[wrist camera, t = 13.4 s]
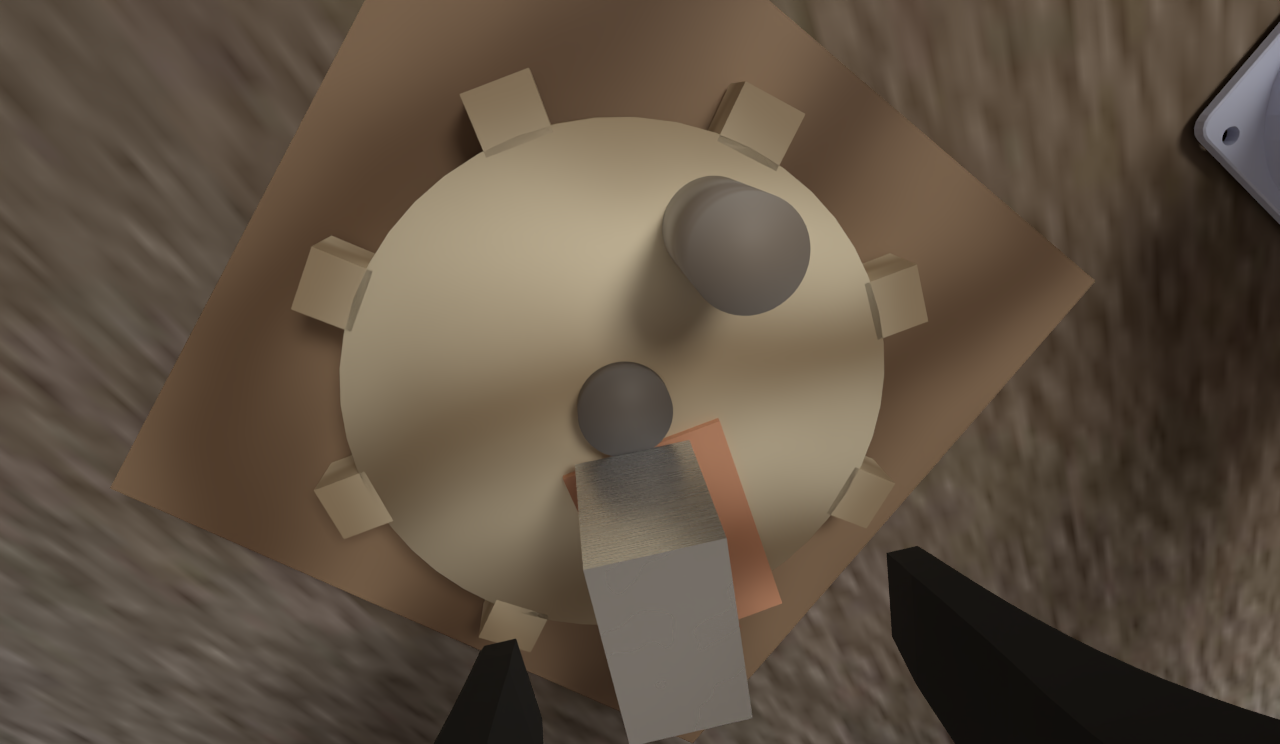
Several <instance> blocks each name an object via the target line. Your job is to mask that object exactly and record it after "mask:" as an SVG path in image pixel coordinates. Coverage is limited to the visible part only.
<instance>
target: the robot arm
mask: <svg viewBox="0 0 1280 744" xmlns="http://www.w3.org/2000/svg"><path fill="white" fill-rule="evenodd" d="M1225 130H1227V137H1226V138H1225V140H1224V141H1222V137H1223V134H1224V132H1225ZM1194 135H1195V137H1196V139H1197V140H1198V141H1199V142H1200V143H1201V144H1202V145H1203V147H1204V148H1205V149H1206V150H1207V151H1208V152H1209V153H1210V154H1211V155H1212V156H1213V157H1214V158H1215V159H1216V160H1217V161H1218V162H1219V163H1220V164H1221V165H1222V166H1223V167H1224V168H1225V169H1226V170H1227V171H1228V172H1229V173H1230V174H1231V175H1232V176H1233V177H1234V178H1235V179H1236V180H1237V181H1238V182H1239V183H1240V184H1241V185H1242V186H1243V187H1244V188H1245V189H1246V190H1247V191H1248V192H1249V194H1250V195H1251V196H1252V197H1253V198H1254V199H1255V200H1256V201H1257V202H1258V203H1259V204H1260V205H1261V206H1262V207H1263V208H1264V209H1265V210H1266V211H1267V212H1268V213H1269V214H1270V215H1271V216H1272V217H1273V218H1274V219H1275V220H1276V221H1277V222H1278V223H1279V224H1280V22H1279V23H1278V25H1277V26H1276V27H1275V28H1274V29H1273V30H1272V32H1271V33H1270V34H1269V35H1268V36H1267V37H1266V39H1265V40H1264V41H1263V42H1262V43H1261V44H1260V46H1259V47H1258V48H1257V49H1256V50H1255V51H1254V53H1253V54H1252V55H1251V56H1250V57H1249V58H1248V60H1247V61H1246V62H1245V63H1244V64H1243V65H1242V67H1241V68H1240V69H1239V70H1238V71H1237V72H1236V74H1235V75H1234V76H1233V77H1232V78H1231V79H1230V81H1229V82H1228V83H1227V84H1226V85H1225V86H1224V88H1223V89H1222V90H1221V91H1220V92H1219V93H1218V95H1217V96H1216V97H1215V98H1214V99H1213V100H1212V102H1211V103H1210V104H1209V105H1208V106H1207V108H1206V109H1205V110H1204V111H1203V112H1202V113H1201V115H1200V116H1199V118H1198V119H1197V121H1196V123H1195V127H1194ZM887 566H888V581H889V596H890V611H891V626H892V637H893V639H894V641H895V643H896V645H897V647H898V649H899V651H900V653H901V655H902V657H903V659H904V661H905V663H906V665H907V667H908V669H909V671H910V673H911V675H912V677H913V679H914V681H915V682H916V684H917V686H918V688H919V689H920V691H921V692H922V694H923V696H924V697H925V699H926V700H927V702H928V703H929V705H930V706H931V708H932V709H933V711H934V712H935V714H936V715H937V717H938V718H939V720H940V721H941V723H942V724H943V726H944V727H945V729H946V730H947V732H948V733H949V735H950V736H951V738H952V739H953V741H954V742H955V744H1280V720H1279V719H1275V718H1272V717H1269V716H1266V715H1263V714H1260V713H1256V712H1253V711H1250V710H1247V709H1244V708H1241V707H1238V706H1235V705H1232V704H1229V703H1226V702H1223V701H1221V700H1218V699H1215V698H1212V697H1209V696H1206V695H1204V694H1201V693H1199V692H1196V691H1193V690H1191V689H1188V688H1185V687H1183V686H1180V685H1178V684H1175V683H1172V682H1170V681H1167V680H1165V679H1162V678H1160V677H1157V676H1155V675H1152V674H1150V673H1147V672H1145V671H1143V670H1140V669H1138V668H1136V667H1133V666H1131V665H1129V664H1127V663H1125V662H1122V661H1120V660H1118V659H1116V658H1114V657H1111V656H1109V655H1107V654H1105V653H1103V652H1100V651H1098V650H1096V649H1094V648H1092V647H1090V646H1088V645H1086V644H1084V643H1082V642H1080V641H1078V640H1076V639H1074V638H1072V637H1070V636H1068V635H1066V634H1064V633H1062V632H1060V631H1058V630H1057V629H1055V628H1053V627H1051V626H1049V625H1047V624H1045V623H1043V622H1041V621H1040V620H1038V619H1036V618H1034V617H1032V616H1031V615H1029V614H1027V613H1025V612H1024V611H1022V610H1020V609H1018V608H1017V607H1015V606H1013V605H1011V604H1010V603H1008V602H1006V601H1005V600H1003V599H1001V598H1000V597H998V596H996V595H995V594H993V593H991V592H990V591H988V590H986V589H985V588H983V587H982V586H980V585H978V584H977V583H975V582H974V581H972V580H970V579H969V578H967V577H966V576H964V575H962V574H961V573H959V572H958V571H956V570H955V569H953V568H951V567H950V566H948V565H947V564H945V563H944V562H942V561H940V560H939V559H937V558H936V557H934V556H933V555H931V554H929V553H928V552H926V551H925V550H923V549H921V548H920V547H918V546H915V547H911V548H907V549H902V550H898V551H894V552H889V553H887ZM434 744H543V727H542V717H541V714H540V711H539V708H538V705H537V701H536V698H535V695H534V692H533V689H532V686H531V683H530V680H529V677H528V674H527V671H526V667H525V664H524V661H523V658H522V655H521V652H520V649H519V646H518V643H517V640H516V639H512V640H507V641H503V642H499V643H494V644H490V645H486V646H484V647H483V648H482V650H481V651H480V653H479V655H478V657H477V659H476V661H475V663H474V666H473V668H472V670H471V672H470V674H469V676H468V678H467V680H466V682H465V684H464V686H463V689H462V691H461V693H460V695H459V697H458V699H457V701H456V703H455V705H454V707H453V708H452V710H451V712H450V714H449V716H448V718H447V720H446V722H445V724H444V725H443V727H442V729H441V731H440V733H439V735H438V737H437V738H436V740H435V742H434Z"/></svg>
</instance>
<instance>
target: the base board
mask: <svg viewBox="0 0 1280 744" xmlns="http://www.w3.org/2000/svg"><path fill="white" fill-rule="evenodd" d="M526 68H529V69H530V71H531V73H532V75H533V78H534V81H535V83H536V86H537V89H538V91H539V94H540V97H541V99H542V102H543V105H544V107H545V110H546V112H547V115H548V118H549V120H550V123H551V124H555V123H560V122H566V121H573V120H579V119H586V118H592V117H639V118H647V119H655V120H663V121H671V122H678V123H682V124H686V125H689V126H693V127H697V128H700V129H704V130H708V129H709V127H710V125H711V123H712V120H713V118H714V116H715V114H716V112H717V110H718V108H719V106H720V104H721V101H722V99H723V97H724V95H725V93H726V91H727V89H728V87H729V85H730V84H731V83H737V82H744V81H746V82H748V83H750V84H752V85H754V86H755V87H757V88H759V89H761V90H763V91H764V92H766V93H768V94H770V95H772V96H774V97H775V98H777V99H779V100H781V101H783V102H785V103H786V104H788V105H790V106H792V107H794V108H796V109H797V110H799V111H801V112H803V113H805V116H804V118H803V120H802V122H801V124H800V126H799V128H798V130H797V132H796V134H795V136H794V138H793V139H792V141H791V143H790V145H789V147H788V149H787V151H786V153H785V155H784V157H783V159H782V161H781V163H780V165H779V166H781V167H783V168H784V169H785V170H786V171H788V172H789V173H790V174H791V175H792V176H794V177H795V178H796V179H797V180H798V181H800V182H801V183H802V184H803V185H804V186H806V187H807V188H808V189H809V190H810V191H811V192H812V193H813V194H814V195H815V196H816V197H817V198H818V199H819V200H820V202H821V203H822V204H823V205H824V206H825V207H826V208H827V209H828V211H829V212H830V213H831V214H832V215H833V216H834V217H835V218H836V220H837V222H838V223H839V225H840V226H841V228H842V229H843V231H844V232H845V234H846V235H847V237H848V238H849V240H850V241H851V243H852V244H853V246H854V247H855V249H856V252H857V254H858V256H859V258H860V260H861V262H862V264H863V263H866V262H868V261H871V260H874V259H876V258H879V257H882V256H884V255H887V254H890V253H891V254H893V255H896V256H898V257H900V258H903V259H905V260H907V261H910V262H912V263H914V264H917V268H918V273H919V278H920V283H921V288H922V293H923V298H924V302H925V307H926V312H927V317H928V322H925V323H922V324H920V325H917V326H914V327H912V328H909V329H906V330H904V331H901V332H898V333H896V334H893V335H890V336H887V337H885V338H883V341H884V380H883V389H882V397H881V406H880V410H879V414H878V418H877V422H876V426H875V429H874V433H873V437H872V440H871V442H870V445H869V447H868V450H867V452H866V455H865V456H867V457H869V458H872V459H873V460H874V461H875V462H876V463H877V464H878V465H879V466H880V467H881V468H882V469H883V470H884V472H885V473H886V474H887V475H888V476H889V477H890V478H891V479H892V480H893V481H894V482H895V485H894V487H893V488H892V490H891V491H890V493H889V494H888V496H887V497H886V499H885V501H884V502H883V504H882V505H881V507H880V508H879V510H878V511H877V513H876V515H875V516H874V518H873V519H872V521H871V522H870V524H869V525H868V527H867V528H864V527H861V526H859V525H856V524H853V523H851V522H848V521H845V520H843V519H840V518H838V517H835V516H832V515H830V517H829V518H828V519H827V520H826V522H825V523H824V524H823V525H822V526H821V527H820V528H819V529H818V530H817V532H816V533H815V534H814V535H813V536H812V537H811V538H810V539H809V540H808V542H806V543H805V544H804V545H803V546H802V547H801V548H800V549H799V550H797V551H796V552H795V553H794V554H793V555H792V556H791V557H790V558H788V559H787V560H786V561H785V562H784V563H782V564H781V565H779V566H778V567H777V568H775V569H774V570H772V571H771V572H772V574H773V577H774V580H775V583H776V586H777V589H778V592H779V595H780V598H781V601H782V604H779V605H777V606H774V607H771V608H768V609H766V610H763V611H760V612H758V613H755V614H752V615H749V616H747V617H744V618H741V619H738V620H739V623H740V626H741V628H740V634H741V641H742V648H743V655H744V662H745V669H746V676H747V680H748V679H749V678H750V677H751V676H752V675H753V673H754V672H755V671H756V670H757V669H758V668H759V667H760V665H761V664H762V663H763V662H764V661H765V660H766V659H767V657H768V656H769V655H770V654H771V653H772V652H773V650H774V649H775V648H776V647H777V646H778V645H779V644H780V642H781V641H782V640H783V639H784V638H785V637H786V636H787V634H788V633H789V632H790V631H791V630H792V629H793V628H794V626H795V625H796V624H797V623H798V622H799V621H800V619H801V618H802V617H803V616H804V615H805V614H806V613H807V611H808V610H809V609H810V608H811V607H812V606H813V605H814V603H815V602H816V601H817V600H818V599H819V598H820V597H821V595H822V594H823V593H824V592H825V591H826V590H827V588H828V587H829V586H830V585H831V584H832V583H833V582H834V580H835V579H836V578H837V577H838V576H839V575H840V574H841V572H842V571H843V570H844V569H845V568H846V567H847V566H848V564H849V563H850V562H851V561H852V560H853V559H854V557H855V556H856V555H857V554H858V553H859V552H860V551H861V549H862V548H863V547H864V546H865V545H866V544H867V543H868V541H869V540H870V539H871V538H872V537H873V536H874V535H875V533H876V532H877V531H878V530H879V529H880V528H881V526H882V525H883V524H884V523H885V522H886V521H887V520H888V518H889V517H890V516H891V515H892V514H893V513H894V512H895V510H896V509H897V508H898V507H899V506H900V505H901V504H902V502H903V501H904V500H905V499H906V498H907V497H908V495H909V494H910V493H911V492H912V491H913V490H914V489H915V487H916V486H917V485H918V484H919V483H920V482H921V481H922V479H923V478H924V477H925V476H926V475H927V474H928V473H929V471H930V470H931V469H932V468H933V467H934V466H935V464H936V463H937V462H938V461H939V460H940V459H941V458H942V456H943V455H944V454H945V453H946V452H947V451H948V450H949V448H950V447H951V446H952V445H953V444H954V443H955V442H956V440H957V439H958V438H959V437H960V436H961V435H962V433H963V432H964V431H965V430H966V429H967V428H968V427H969V425H970V424H971V423H972V422H973V421H974V420H975V419H976V417H977V416H978V415H979V414H980V413H981V412H982V411H983V409H984V408H985V407H986V406H987V405H988V404H989V402H990V401H991V400H992V399H993V398H994V397H995V396H996V394H997V393H998V392H999V391H1000V390H1001V389H1002V388H1003V386H1004V385H1005V384H1006V383H1007V382H1008V381H1009V380H1010V378H1011V377H1012V376H1013V375H1014V374H1015V373H1016V372H1017V370H1018V369H1019V368H1020V367H1021V366H1022V365H1023V363H1024V362H1025V361H1026V360H1027V359H1028V358H1029V357H1030V355H1031V354H1032V353H1033V352H1034V351H1035V350H1036V349H1037V347H1038V346H1039V345H1040V344H1041V343H1042V342H1043V341H1044V339H1045V338H1046V337H1047V336H1048V335H1049V334H1050V332H1051V331H1052V330H1053V329H1054V328H1055V327H1056V326H1057V324H1058V323H1059V322H1060V321H1061V320H1062V319H1063V318H1064V316H1065V315H1066V314H1067V313H1068V312H1069V311H1070V310H1071V308H1072V307H1073V306H1074V305H1075V304H1076V303H1077V301H1078V300H1079V299H1080V298H1081V297H1082V296H1083V295H1084V293H1085V292H1086V291H1087V290H1088V289H1089V288H1090V287H1091V285H1092V284H1093V283H1094V282H1095V280H1093V279H1092V278H1091V277H1090V276H1089V275H1088V274H1086V273H1085V272H1084V271H1083V270H1082V269H1081V268H1080V267H1078V266H1077V265H1076V264H1075V263H1074V262H1073V261H1071V260H1070V259H1069V258H1068V257H1067V256H1066V255H1064V254H1063V253H1062V252H1061V251H1060V250H1059V249H1057V248H1056V247H1055V246H1054V245H1053V244H1052V243H1050V242H1049V241H1048V240H1047V239H1046V238H1045V237H1043V236H1042V235H1041V234H1040V233H1039V232H1038V231H1036V230H1035V229H1034V228H1033V227H1032V226H1031V225H1030V224H1028V223H1027V222H1026V221H1025V220H1024V219H1023V218H1021V217H1020V216H1019V215H1018V214H1017V213H1016V212H1014V211H1013V210H1012V209H1011V208H1010V207H1009V206H1007V205H1006V204H1005V203H1004V202H1003V201H1002V200H1000V199H999V198H998V197H997V196H996V195H995V194H993V193H992V192H991V191H990V190H989V189H988V188H986V187H985V186H984V185H983V184H982V183H981V182H980V181H978V180H977V179H976V178H975V177H974V176H973V175H971V174H970V173H969V172H968V171H967V170H966V169H964V168H963V167H962V166H961V165H960V164H959V163H957V162H956V161H955V160H954V159H953V158H952V157H950V156H949V155H948V154H947V153H946V152H945V151H943V150H942V149H941V148H940V147H939V146H938V145H936V144H935V143H934V142H933V141H932V140H931V139H929V138H928V137H927V136H926V135H925V134H924V133H923V132H921V131H920V130H919V129H918V128H917V127H916V126H914V125H913V124H912V123H911V122H910V121H909V120H907V119H906V118H905V117H904V116H903V115H902V114H900V113H899V112H898V111H897V110H896V109H895V108H893V107H892V106H891V105H890V104H889V103H888V102H886V101H885V100H884V99H883V98H882V97H881V96H879V95H878V94H877V93H876V92H875V91H874V90H873V89H871V88H870V87H869V86H868V85H867V84H866V83H864V82H863V81H862V80H861V79H860V78H859V77H857V76H856V75H855V74H854V73H853V72H852V71H850V70H849V69H848V68H847V67H846V66H845V65H843V64H842V63H841V62H840V61H839V60H838V59H836V58H835V57H834V56H833V55H832V54H831V53H829V52H828V51H827V50H826V49H825V48H824V47H823V46H821V45H820V44H819V43H818V42H817V41H816V40H814V39H813V38H812V37H811V36H810V35H809V34H807V33H806V32H805V31H804V30H803V29H802V28H800V27H799V26H798V25H797V24H796V23H795V22H793V21H792V20H791V19H790V18H789V17H788V16H786V15H785V14H784V13H783V12H782V11H781V10H779V9H778V8H777V7H776V6H775V5H774V4H772V3H771V2H770V1H769V0H365V1H364V3H363V5H362V7H361V9H360V11H359V13H358V15H357V17H356V19H355V21H354V22H353V24H352V26H351V28H350V30H349V32H348V34H347V36H346V38H345V40H344V42H343V43H342V45H341V47H340V49H339V51H338V53H337V55H336V57H335V59H334V61H333V63H332V65H331V66H330V68H329V70H328V72H327V74H326V76H325V78H324V80H323V82H322V84H321V86H320V88H319V89H318V91H317V93H316V95H315V97H314V99H313V101H312V103H311V105H310V107H309V109H308V110H307V112H306V114H305V116H304V118H303V120H302V122H301V124H300V126H299V128H298V130H297V132H296V133H295V135H294V137H293V139H292V141H291V143H290V145H289V147H288V149H287V151H286V153H285V154H284V156H283V158H282V160H281V162H280V164H279V166H278V168H277V170H276V172H275V174H274V176H273V177H272V179H271V181H270V183H269V185H268V187H267V189H266V191H265V193H264V195H263V197H262V199H261V200H260V202H259V204H258V206H257V208H256V210H255V212H254V214H253V216H252V218H251V220H250V221H249V223H248V225H247V227H246V229H245V231H244V233H243V235H242V237H241V239H240V241H239V243H238V244H237V246H236V248H235V250H234V252H233V254H232V256H231V258H230V260H229V262H228V264H227V265H226V267H225V269H224V271H223V273H222V275H221V277H220V279H219V281H218V283H217V285H216V287H215V288H214V290H213V292H212V294H211V296H210V298H209V300H208V302H207V304H206V306H205V308H204V310H203V311H202V313H201V315H200V317H199V319H198V321H197V323H196V325H195V327H194V329H193V331H192V332H191V334H190V336H189V338H188V340H187V342H186V344H185V346H184V348H183V350H182V352H181V354H180V355H179V357H178V359H177V361H176V363H175V365H174V367H173V369H172V371H171V373H170V375H169V376H168V378H167V380H166V382H165V384H164V386H163V388H162V390H161V392H160V394H159V396H158V398H157V399H156V401H155V403H154V405H153V407H152V409H151V411H150V413H149V415H148V417H147V419H146V421H145V422H144V424H143V426H142V428H141V430H140V432H139V434H138V436H137V438H136V440H135V442H134V443H133V445H132V447H131V449H130V451H129V453H128V455H127V457H126V459H125V461H124V463H123V465H122V466H121V468H120V470H119V472H118V474H117V476H116V478H115V480H114V482H113V484H112V486H111V487H110V488H111V489H113V490H115V491H118V492H120V493H122V494H124V495H127V496H129V497H131V498H134V499H136V500H138V501H140V502H143V503H145V504H147V505H150V506H152V507H154V508H156V509H159V510H161V511H163V512H166V513H168V514H170V515H172V516H175V517H177V518H179V519H182V520H184V521H186V522H188V523H191V524H193V525H195V526H198V527H200V528H202V529H204V530H207V531H209V532H211V533H214V534H216V535H218V536H220V537H223V538H225V539H227V540H230V541H232V542H234V543H236V544H239V545H241V546H243V547H246V548H248V549H250V550H252V551H255V552H257V553H259V554H262V555H264V556H266V557H268V558H271V559H273V560H275V561H278V562H280V563H282V564H284V565H287V566H289V567H291V568H293V569H296V570H298V571H300V572H303V573H305V574H307V575H309V576H312V577H314V578H316V579H319V580H321V581H323V582H325V583H328V584H330V585H332V586H335V587H337V588H339V589H341V590H344V591H346V592H348V593H351V594H353V595H355V596H357V597H360V598H362V599H364V600H367V601H369V602H371V603H373V604H376V605H378V606H380V607H383V608H385V609H387V610H389V611H392V612H394V613H396V614H399V615H401V616H403V617H405V618H408V619H410V620H412V621H415V622H417V623H419V624H421V625H424V626H426V627H428V628H431V629H433V630H435V631H437V632H440V633H442V634H444V635H447V636H449V637H451V638H453V639H456V640H458V641H460V642H462V643H465V644H467V645H469V646H472V647H474V648H476V649H478V650H482V648H483V647H484V646H486V645H490V644H494V643H496V642H493V641H489V640H486V639H482V638H479V631H480V624H481V617H482V610H483V603H484V601H485V599H483V598H481V597H479V596H477V595H475V594H473V593H471V592H469V591H467V590H465V589H463V588H461V587H460V586H458V585H457V584H455V583H454V582H452V581H451V580H449V579H448V578H446V577H445V576H443V575H442V574H440V573H439V572H437V571H436V570H435V569H434V568H432V567H431V566H430V565H429V564H428V563H427V562H425V561H424V560H423V559H422V558H421V557H420V556H418V555H417V554H416V553H415V552H414V551H412V550H411V548H410V547H409V546H408V545H407V544H406V543H405V542H404V541H403V540H402V538H401V537H400V536H399V535H398V534H397V533H396V532H395V531H394V530H393V528H392V527H391V526H390V525H389V523H386V524H384V525H381V526H378V527H376V528H373V529H370V530H367V531H365V532H362V533H359V534H357V535H354V536H351V537H349V538H346V539H344V538H343V537H342V535H341V533H340V532H339V530H338V529H337V527H336V525H335V524H334V522H333V521H332V519H331V517H330V516H329V514H328V513H327V511H326V509H325V508H324V506H323V505H322V503H321V501H320V500H319V498H318V497H317V495H316V493H315V492H314V489H315V488H316V486H317V484H318V483H319V481H320V480H321V478H322V477H323V475H324V473H325V472H326V470H327V469H328V467H329V466H330V464H331V463H332V462H335V461H338V460H340V459H343V458H346V457H348V456H351V455H352V453H351V450H350V447H349V444H348V441H347V437H346V432H345V426H344V421H343V415H342V410H341V402H340V370H339V369H340V361H341V353H342V344H343V336H344V331H345V330H344V329H342V328H339V327H336V326H334V325H331V324H328V323H326V322H323V321H321V320H318V319H315V318H313V317H310V316H307V315H305V314H302V313H300V312H297V311H294V310H292V309H291V307H292V304H293V301H294V298H295V295H296V292H297V289H298V286H299V283H300V280H301V277H302V274H303V271H304V268H305V265H306V262H307V259H308V256H309V253H310V250H311V247H312V246H313V245H315V244H317V243H319V242H321V241H322V240H324V239H326V238H328V237H330V236H334V237H336V238H339V239H341V240H343V241H346V242H348V243H351V244H353V245H356V246H358V247H360V248H363V249H365V250H368V251H370V252H372V253H376V252H377V250H378V249H379V247H380V245H381V244H382V242H383V241H384V239H385V237H386V236H387V234H388V233H389V231H390V230H391V229H392V228H393V227H394V225H395V224H396V223H397V222H398V221H399V220H400V218H401V217H402V216H403V215H404V214H405V213H406V211H407V210H408V209H409V208H410V207H411V206H412V204H413V203H414V202H415V201H416V200H418V199H419V198H420V197H421V196H422V195H423V194H424V193H426V192H427V191H428V190H429V189H430V188H431V187H432V186H434V185H435V184H436V183H437V182H438V181H439V180H440V179H442V178H443V177H444V176H445V175H447V174H448V173H450V172H451V171H453V170H454V169H456V168H457V167H459V166H460V165H462V164H464V163H465V162H467V161H468V160H470V159H471V158H473V157H474V156H476V155H477V154H479V153H481V152H483V149H482V147H481V144H480V142H479V140H478V137H477V135H476V132H475V130H474V128H473V125H472V123H471V120H470V118H469V116H468V113H467V111H466V109H465V106H464V104H463V101H462V99H461V97H460V94H461V93H464V92H466V91H469V90H472V89H474V88H477V87H479V86H482V85H485V84H487V83H490V82H492V81H495V80H498V79H500V78H503V77H505V76H508V75H511V74H513V73H516V72H518V71H521V70H524V69H526ZM520 652H521V655H522V658H523V661H524V664H525V667H526V671H529V672H531V673H533V674H536V675H538V676H540V677H542V678H545V679H547V680H549V681H552V682H554V683H556V684H558V685H561V686H563V687H565V688H568V689H570V690H572V691H574V692H577V693H579V694H581V695H584V696H586V697H588V698H590V699H593V700H595V701H597V702H600V703H602V704H604V705H606V706H609V707H611V708H613V709H616V710H618V711H620V707H619V703H618V700H617V696H616V692H615V688H614V684H613V681H612V677H611V673H610V669H609V666H608V662H607V658H606V654H605V650H604V647H603V643H602V639H601V635H600V632H599V628H598V625H591V624H575V623H567V622H559V621H551V620H547V621H546V623H545V625H544V627H543V629H542V631H541V633H540V635H539V637H538V639H537V641H536V643H535V645H534V647H533V649H532V651H531V652H528V651H524V650H521V649H520ZM620 712H621V711H620ZM704 730H705V729H704ZM704 730H699V731H695V732H691V733H686V734H682V735H678V736H677V737H679V738H682V739H684V740H686V741H689V742H691V743H693V742H694V741H695V740H696V739H697V738H698V737H699V735H700V734H701V733H702V732H703V731H704Z"/></svg>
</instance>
